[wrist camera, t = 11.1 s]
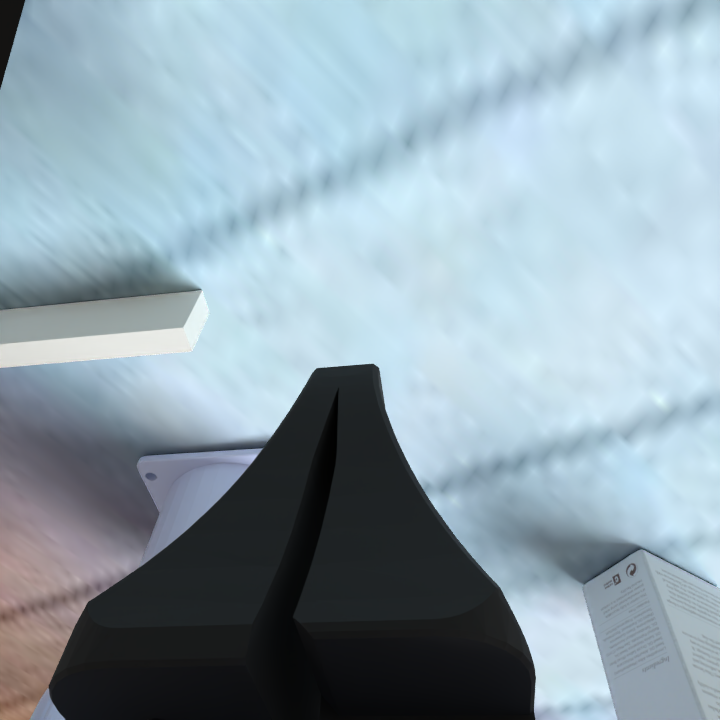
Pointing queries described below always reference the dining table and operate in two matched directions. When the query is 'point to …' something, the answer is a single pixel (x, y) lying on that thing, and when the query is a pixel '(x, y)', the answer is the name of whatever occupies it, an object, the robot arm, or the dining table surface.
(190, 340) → the walled lane
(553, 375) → the dining table surface
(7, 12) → the black boxy piece
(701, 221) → the dining table surface
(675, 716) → the skincare box
